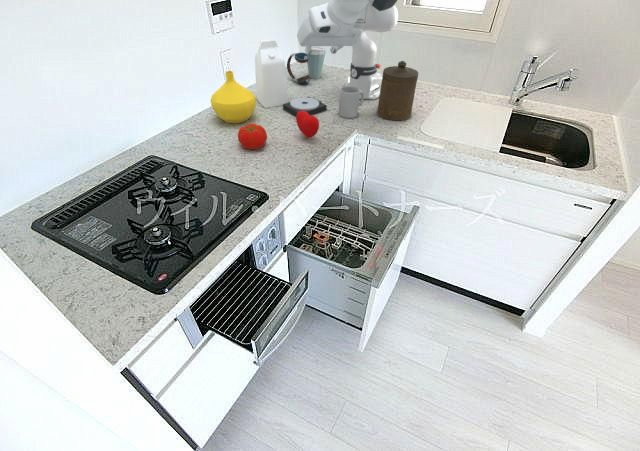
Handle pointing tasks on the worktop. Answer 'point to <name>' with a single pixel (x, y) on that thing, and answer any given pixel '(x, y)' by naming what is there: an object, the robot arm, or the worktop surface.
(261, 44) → the milk
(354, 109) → the mug
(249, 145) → the tomato
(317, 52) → the disposable coffee cup
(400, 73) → the wooden container
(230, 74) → the vase
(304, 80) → the headphones
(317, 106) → the scale
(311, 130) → the heart
